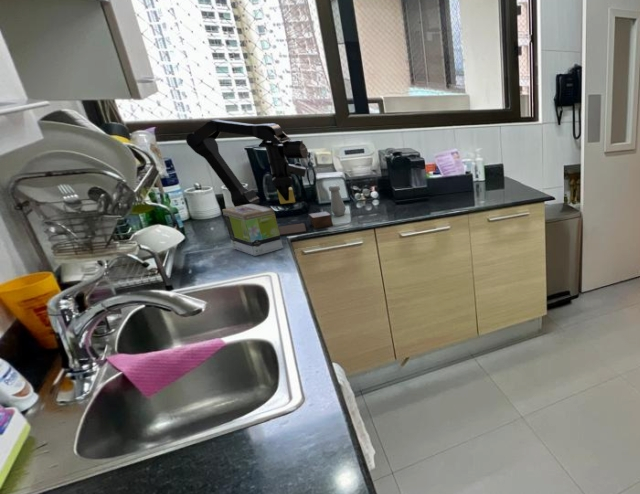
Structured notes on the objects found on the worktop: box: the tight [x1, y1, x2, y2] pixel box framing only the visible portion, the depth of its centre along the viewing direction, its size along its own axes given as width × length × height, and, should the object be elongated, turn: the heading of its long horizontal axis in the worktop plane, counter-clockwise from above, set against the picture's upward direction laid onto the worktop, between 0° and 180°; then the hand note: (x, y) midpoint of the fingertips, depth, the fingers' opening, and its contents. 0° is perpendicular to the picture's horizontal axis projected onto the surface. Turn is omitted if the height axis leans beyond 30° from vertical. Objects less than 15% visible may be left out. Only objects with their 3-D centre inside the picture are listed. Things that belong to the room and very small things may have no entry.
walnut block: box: [308, 211, 333, 229], centre depth 191 cm, size 6×6×4 cm
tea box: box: [221, 204, 284, 257], centre depth 163 cm, size 15×10×15 cm, turn 59°
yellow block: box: [276, 186, 296, 205], centre depth 181 cm, size 5×5×5 cm
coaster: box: [278, 222, 307, 237], centre depth 185 cm, size 12×12×1 cm
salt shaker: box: [328, 184, 347, 217], centre depth 203 cm, size 6×6×13 cm
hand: (286, 199), depth 181 cm, fingers closed on yellow block, 5 cm apart
